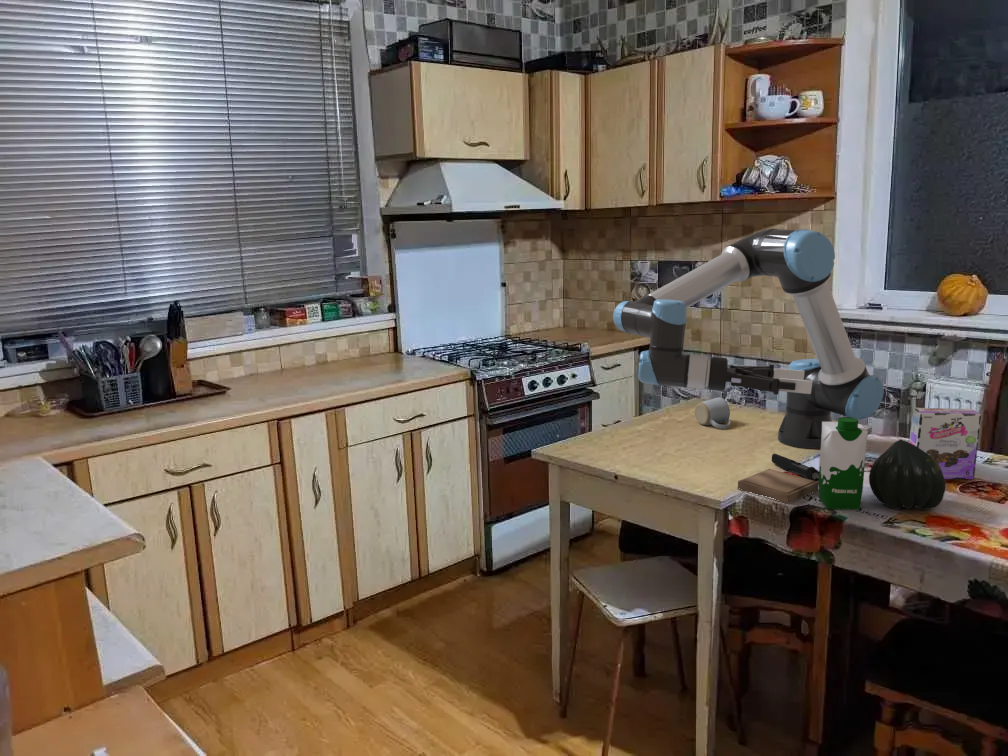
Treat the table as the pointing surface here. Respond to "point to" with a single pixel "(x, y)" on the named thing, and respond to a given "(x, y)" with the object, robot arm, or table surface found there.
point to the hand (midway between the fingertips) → (807, 382)
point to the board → (778, 485)
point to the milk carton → (842, 463)
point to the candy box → (948, 438)
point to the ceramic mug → (713, 413)
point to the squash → (907, 478)
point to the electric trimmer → (796, 467)
